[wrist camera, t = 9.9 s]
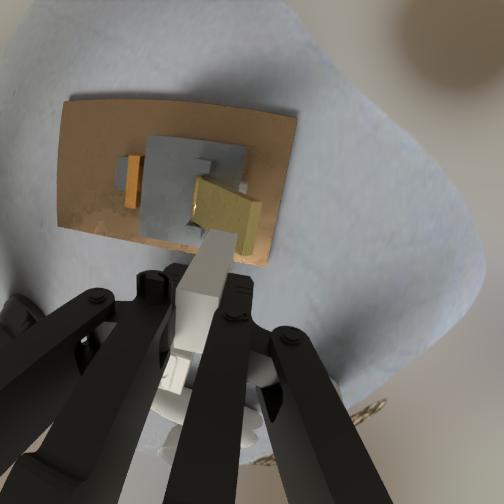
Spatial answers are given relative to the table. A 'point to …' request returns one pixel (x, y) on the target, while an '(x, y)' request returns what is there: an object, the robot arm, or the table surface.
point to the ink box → (176, 370)
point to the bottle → (176, 409)
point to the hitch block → (167, 167)
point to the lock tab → (226, 212)
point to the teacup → (170, 445)
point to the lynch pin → (136, 180)
